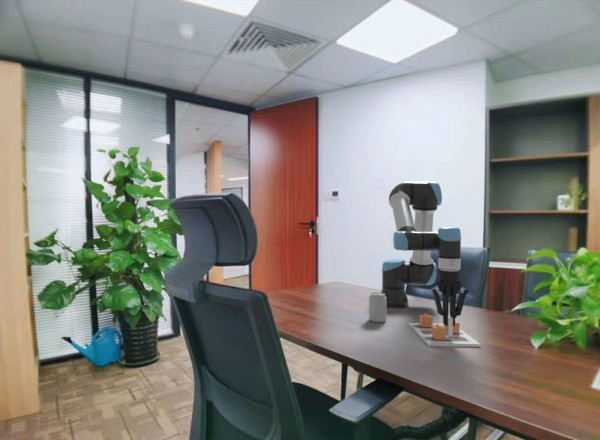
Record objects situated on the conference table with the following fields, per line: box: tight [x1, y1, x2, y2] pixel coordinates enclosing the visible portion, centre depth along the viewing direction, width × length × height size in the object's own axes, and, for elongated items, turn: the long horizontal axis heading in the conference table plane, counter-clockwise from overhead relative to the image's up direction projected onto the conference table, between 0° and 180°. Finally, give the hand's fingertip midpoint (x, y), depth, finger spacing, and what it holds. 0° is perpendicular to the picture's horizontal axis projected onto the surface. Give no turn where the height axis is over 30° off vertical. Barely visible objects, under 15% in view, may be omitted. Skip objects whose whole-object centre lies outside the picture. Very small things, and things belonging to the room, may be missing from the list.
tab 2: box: [432, 323, 446, 340], centre depth 122 cm, size 3×4×5 cm
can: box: [368, 291, 388, 324], centre depth 148 cm, size 8×8×12 cm
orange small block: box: [419, 313, 433, 327], centre depth 136 cm, size 3×4×5 cm
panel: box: [409, 322, 481, 348], centre depth 129 cm, size 23×18×1 cm
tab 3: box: [445, 319, 460, 334], centre depth 129 cm, size 3×4×5 cm
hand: (449, 334), depth 122 cm, fingers closed
